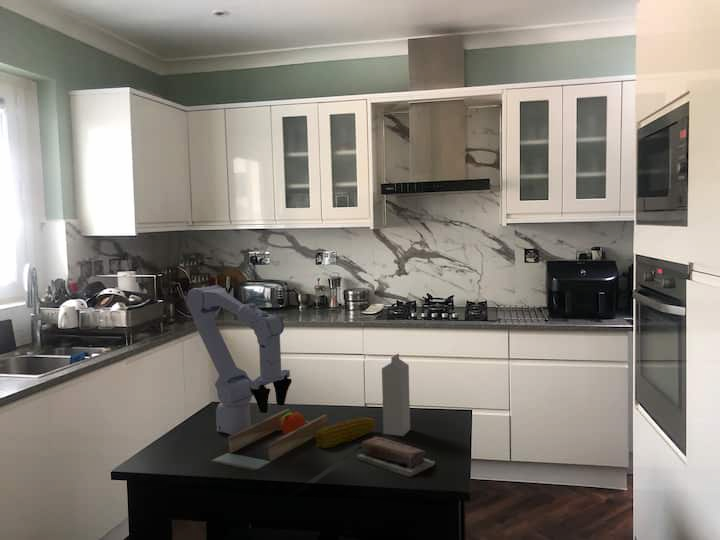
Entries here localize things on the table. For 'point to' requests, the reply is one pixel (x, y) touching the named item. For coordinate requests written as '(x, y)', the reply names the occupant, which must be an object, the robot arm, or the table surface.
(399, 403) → the milk
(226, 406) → the robot arm
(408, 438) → the table surface
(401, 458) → the packaged product
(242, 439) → the crate
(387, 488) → the table surface
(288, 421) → the clementine
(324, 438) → the food
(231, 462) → the panel
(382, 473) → the table surface
